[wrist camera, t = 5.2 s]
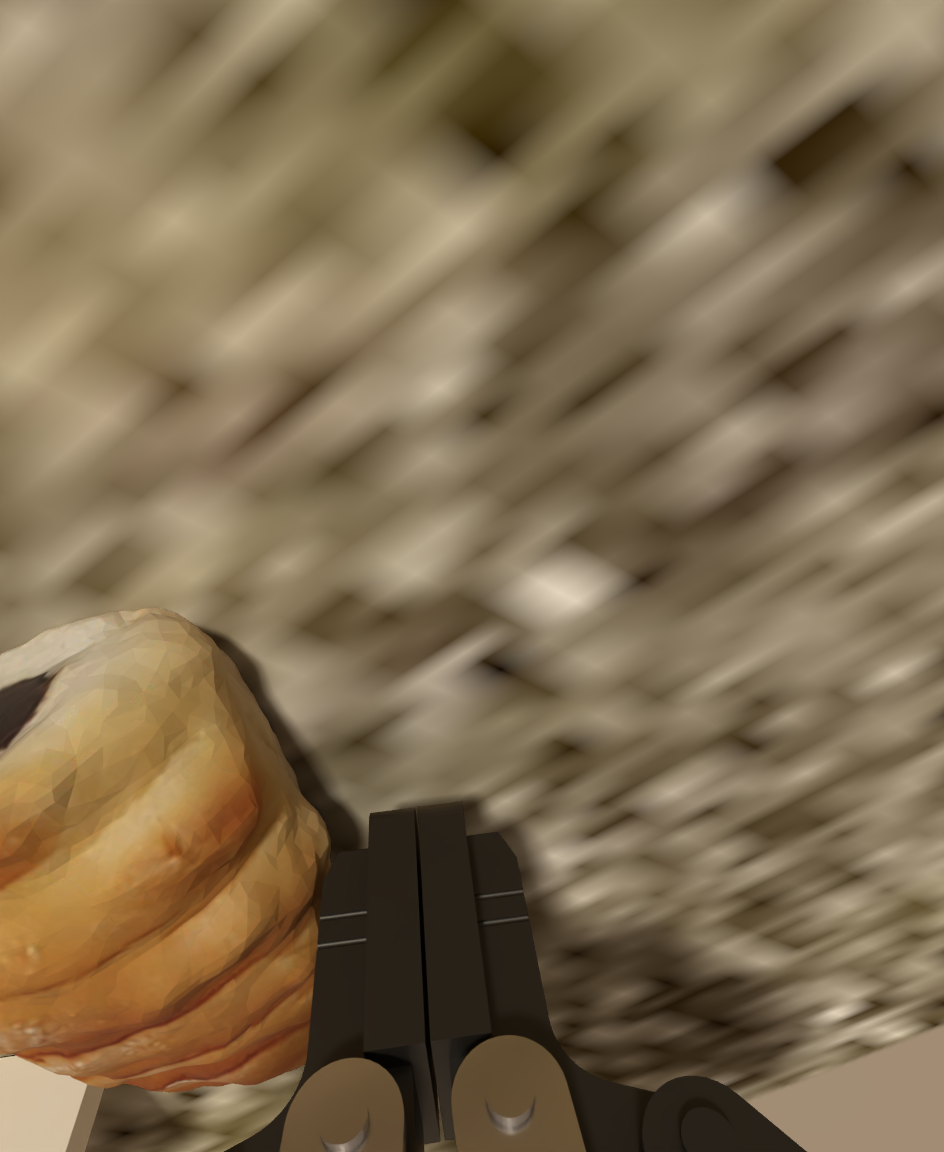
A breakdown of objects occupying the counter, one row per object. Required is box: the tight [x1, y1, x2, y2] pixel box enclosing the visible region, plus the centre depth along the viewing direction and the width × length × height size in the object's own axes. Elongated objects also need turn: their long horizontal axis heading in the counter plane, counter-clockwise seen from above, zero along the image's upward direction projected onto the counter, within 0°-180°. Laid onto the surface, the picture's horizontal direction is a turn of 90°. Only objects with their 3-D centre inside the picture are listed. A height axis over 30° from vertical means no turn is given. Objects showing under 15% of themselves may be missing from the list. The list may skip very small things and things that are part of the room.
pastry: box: [0, 608, 331, 1092], centre depth 11 cm, size 9×7×4 cm
